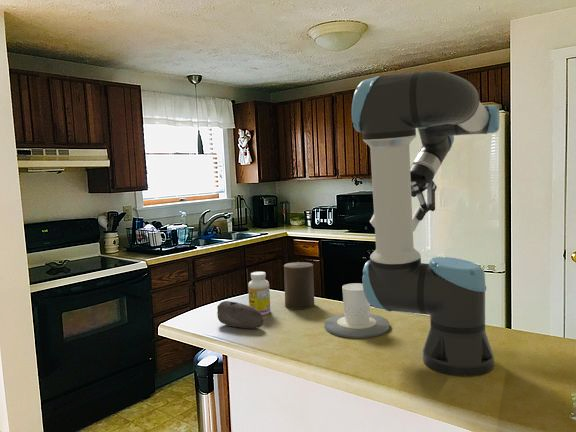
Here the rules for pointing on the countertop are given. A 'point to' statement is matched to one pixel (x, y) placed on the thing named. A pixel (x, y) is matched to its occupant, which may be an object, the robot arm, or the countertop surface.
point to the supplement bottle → (259, 293)
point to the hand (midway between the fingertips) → (390, 226)
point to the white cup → (355, 304)
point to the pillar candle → (299, 285)
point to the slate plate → (357, 327)
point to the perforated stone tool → (239, 315)
